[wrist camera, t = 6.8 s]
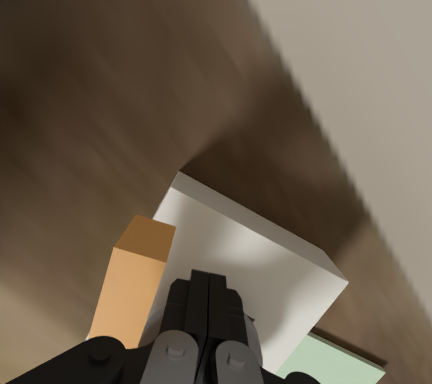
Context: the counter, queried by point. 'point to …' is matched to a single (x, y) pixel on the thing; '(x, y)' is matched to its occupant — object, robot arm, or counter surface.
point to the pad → (330, 363)
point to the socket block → (248, 265)
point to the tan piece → (132, 280)
